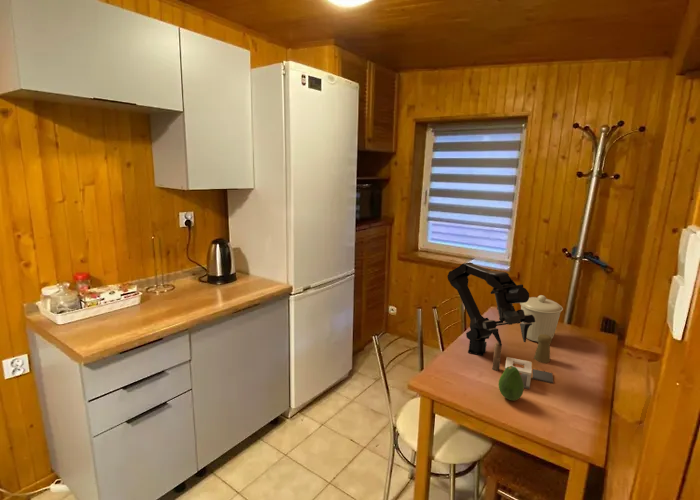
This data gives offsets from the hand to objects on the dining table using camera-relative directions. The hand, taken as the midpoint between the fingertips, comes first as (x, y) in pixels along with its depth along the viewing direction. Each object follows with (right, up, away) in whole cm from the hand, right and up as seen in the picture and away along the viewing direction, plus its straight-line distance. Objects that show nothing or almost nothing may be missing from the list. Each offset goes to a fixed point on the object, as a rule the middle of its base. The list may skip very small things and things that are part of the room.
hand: (512, 344), depth 152 cm
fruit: (-7, -16, -15) cm, 23 cm away
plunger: (0, -10, -4) cm, 11 cm away
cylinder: (-5, -11, +5) cm, 13 cm away
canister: (+25, -5, +33) cm, 42 cm away
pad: (+11, -13, -1) cm, 17 cm away
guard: (0, -13, -3) cm, 13 cm away
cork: (+18, -10, +13) cm, 24 cm away
